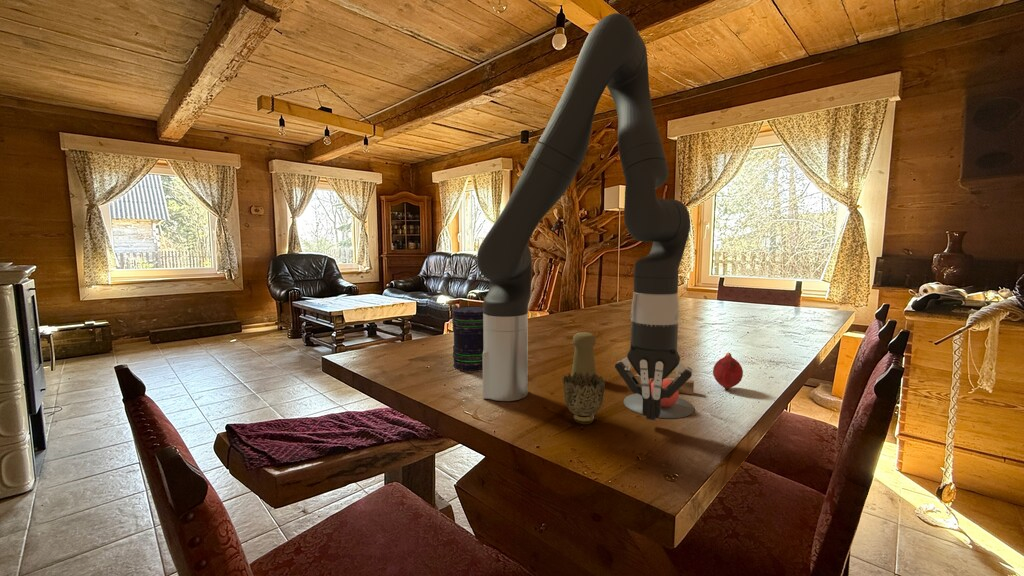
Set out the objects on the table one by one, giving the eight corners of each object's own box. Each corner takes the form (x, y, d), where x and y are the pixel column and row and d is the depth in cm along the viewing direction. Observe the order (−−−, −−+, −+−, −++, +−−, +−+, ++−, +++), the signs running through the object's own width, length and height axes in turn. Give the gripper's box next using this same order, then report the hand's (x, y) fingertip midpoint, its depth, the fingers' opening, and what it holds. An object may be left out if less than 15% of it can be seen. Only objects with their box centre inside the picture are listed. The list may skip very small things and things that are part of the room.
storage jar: (457, 360, 117) (456, 305, 116) (493, 361, 116) (493, 306, 115) (448, 371, 107) (447, 311, 106) (487, 372, 106) (487, 312, 105)
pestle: (567, 381, 99) (568, 334, 98) (573, 374, 105) (574, 329, 104) (593, 384, 97) (594, 336, 96) (598, 377, 102) (599, 331, 101)
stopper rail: (693, 392, 92) (693, 380, 92) (693, 394, 90) (693, 382, 90) (635, 384, 97) (635, 373, 97) (634, 386, 95) (634, 375, 95)
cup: (558, 413, 80) (559, 371, 79) (597, 412, 81) (598, 370, 80) (567, 431, 73) (567, 385, 72) (609, 429, 74) (611, 383, 73)
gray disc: (634, 418, 78) (634, 417, 78) (616, 393, 91) (616, 392, 91) (706, 418, 78) (706, 417, 78) (678, 393, 91) (678, 392, 91)
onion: (745, 394, 90) (747, 357, 90) (716, 392, 92) (718, 355, 91) (737, 385, 96) (739, 350, 95) (709, 383, 97) (711, 349, 96)
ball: (659, 401, 87) (658, 417, 83) (643, 380, 87) (641, 394, 82) (684, 390, 85) (684, 406, 80) (668, 368, 84) (667, 383, 80)
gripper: (697, 318, 73) (693, 417, 75) (619, 313, 79) (616, 405, 81) (696, 326, 67) (691, 434, 68) (610, 319, 72) (607, 419, 74)
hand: (651, 418), depth 74 cm, fingers closed
